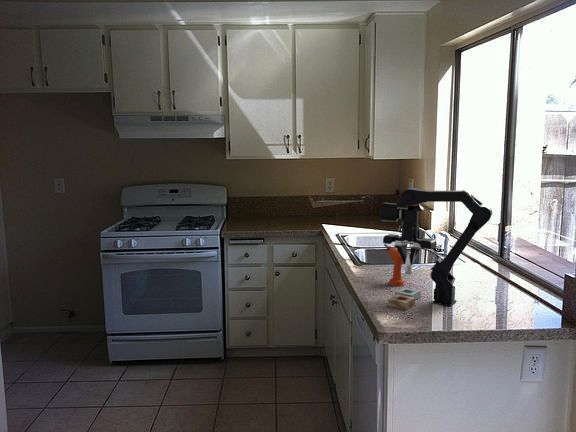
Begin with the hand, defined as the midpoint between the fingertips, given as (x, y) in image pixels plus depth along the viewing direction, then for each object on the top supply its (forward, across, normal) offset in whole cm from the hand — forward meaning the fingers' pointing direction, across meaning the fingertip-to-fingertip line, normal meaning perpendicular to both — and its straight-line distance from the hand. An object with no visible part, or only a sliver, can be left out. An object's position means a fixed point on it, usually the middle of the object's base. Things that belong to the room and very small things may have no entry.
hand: (408, 264), depth 190 cm
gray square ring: (+13, 0, 0) cm, 13 cm away
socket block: (+13, -2, +9) cm, 16 cm away
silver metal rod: (+4, 0, 0) cm, 4 cm away
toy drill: (+13, +15, -17) cm, 26 cm away
